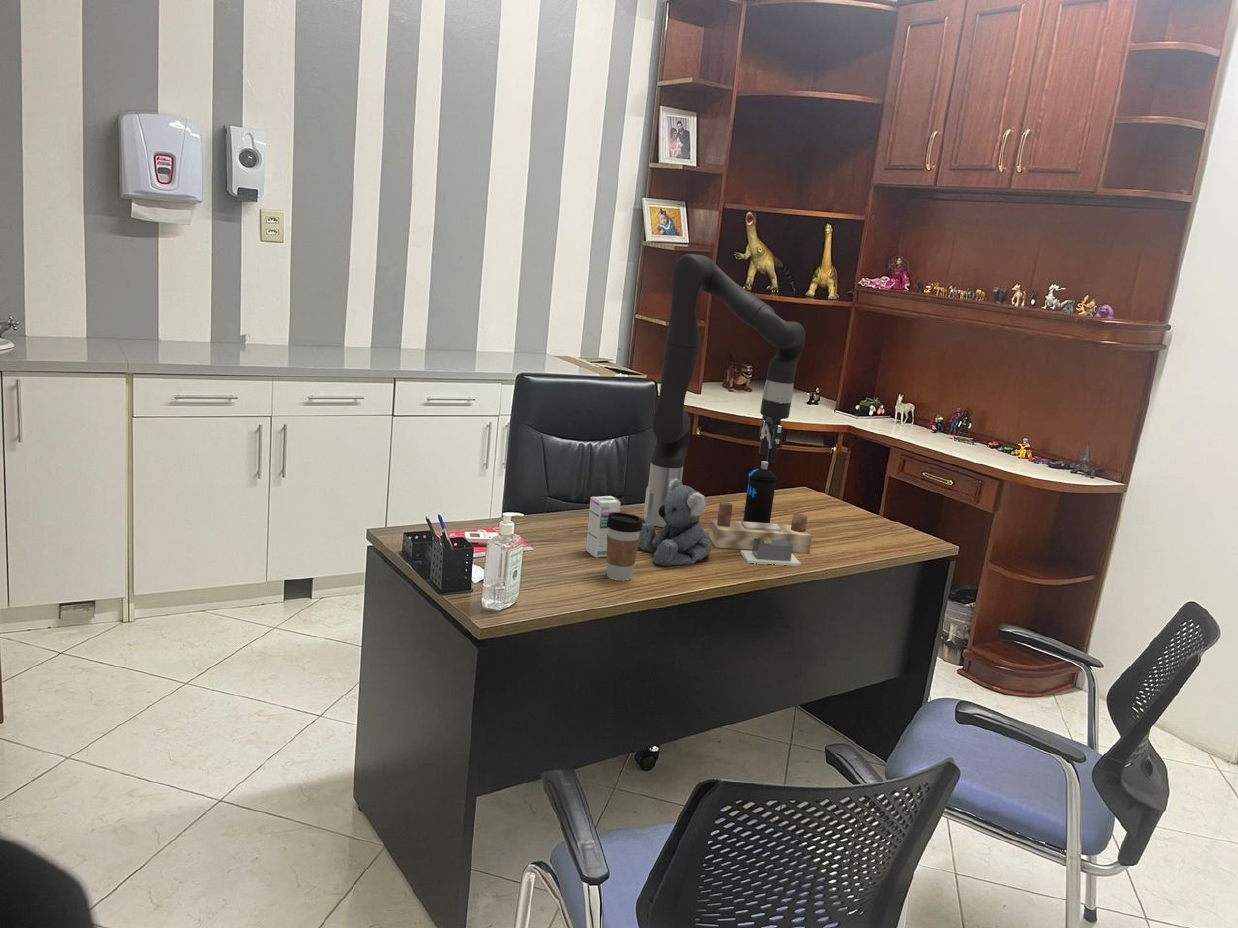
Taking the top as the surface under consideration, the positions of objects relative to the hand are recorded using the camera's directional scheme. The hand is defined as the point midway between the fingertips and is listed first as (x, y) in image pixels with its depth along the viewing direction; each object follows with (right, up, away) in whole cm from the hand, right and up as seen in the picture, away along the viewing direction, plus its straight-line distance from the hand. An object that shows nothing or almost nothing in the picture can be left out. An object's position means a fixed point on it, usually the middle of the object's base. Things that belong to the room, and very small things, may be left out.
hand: (766, 458), depth 251 cm
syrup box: (-44, -24, -11) cm, 51 cm away
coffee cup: (-39, -28, -26) cm, 55 cm away
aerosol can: (0, -20, +24) cm, 32 cm away
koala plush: (-24, -25, -6) cm, 36 cm away
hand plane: (-1, -24, +9) cm, 25 cm away
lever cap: (+1, -26, -2) cm, 26 cm away
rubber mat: (+1, -26, -2) cm, 27 cm away
